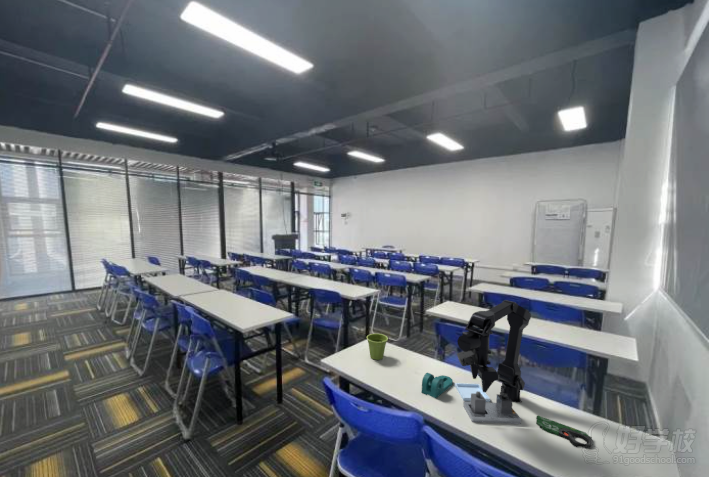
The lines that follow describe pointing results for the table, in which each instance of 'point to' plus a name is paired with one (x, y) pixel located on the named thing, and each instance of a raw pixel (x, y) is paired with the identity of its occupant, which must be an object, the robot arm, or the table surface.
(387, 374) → the table surface
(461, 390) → the tray
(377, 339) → the plant pot
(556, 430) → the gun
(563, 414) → the table surface
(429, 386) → the bracket
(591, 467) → the table surface
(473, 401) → the plug
